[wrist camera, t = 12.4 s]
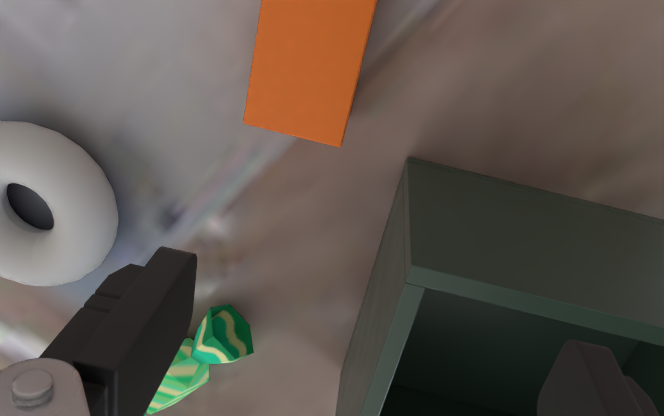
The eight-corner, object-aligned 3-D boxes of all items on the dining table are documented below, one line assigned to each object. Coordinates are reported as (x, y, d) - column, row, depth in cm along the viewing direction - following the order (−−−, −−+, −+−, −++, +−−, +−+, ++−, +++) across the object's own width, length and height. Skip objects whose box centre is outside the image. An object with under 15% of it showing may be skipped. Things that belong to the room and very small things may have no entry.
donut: (57, 81, 30) (-72, 156, 32) (18, 98, 26) (-121, 179, 29) (161, 232, 33) (37, 288, 36) (139, 262, 30) (4, 321, 33)
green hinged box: (341, 371, 36) (319, 530, 27) (406, 155, 29) (411, 264, 20) (586, 432, 36) (654, 612, 27) (712, 231, 29) (866, 377, 20)
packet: (264, 97, 29) (242, 124, 25) (293, -72, 25) (272, -74, 21) (348, 118, 29) (340, 148, 25) (389, -48, 25) (387, -45, 21)
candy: (147, 429, 39) (98, 449, 36) (128, 385, 40) (79, 400, 37) (264, 348, 35) (223, 363, 31) (240, 301, 36) (197, 310, 32)
